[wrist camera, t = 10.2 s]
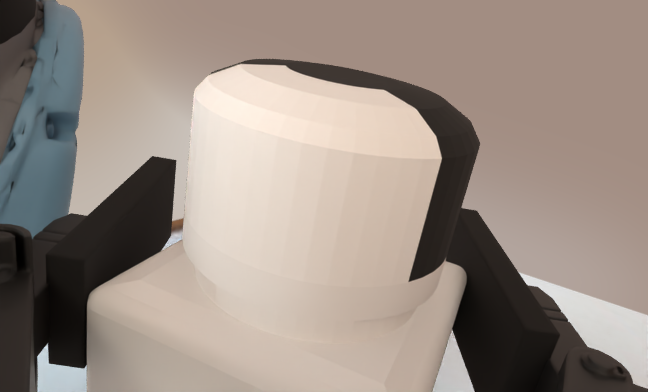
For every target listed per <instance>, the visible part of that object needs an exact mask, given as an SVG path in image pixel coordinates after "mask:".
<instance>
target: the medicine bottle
mask: <svg viewBox="0 0 648 392" xmlns="http://www.w3.org/2000/svg"><path fill="white" fill-rule="evenodd" d="M193 98H194V99H193V111H192V123H191V135H190V147H189V148H190V149H189V160H188V173H187V185H186V197H185V210H184V222H183V234H182V240H180V241H178V242H177V243H175V244H173V245H171V246H170V247H168V248H166V249H164V250H162V251H161V252H159V253H157V254H155V255H154V256H152V257H150V258H148V259H146V260H145V261H143V262H141V263H139V264H138V265H136V266H134V267H132V268H130V269H129V270H127V271H125V272H123V273H122V274H120V275H118V276H116V277H114V278H113V279H111V280H109V281H107V282H106V283H104V284H102V285H100V286H99V287H97V288H95V289H94V290H93V291H92V292H91V293H90V294H89V297H88V301H87V392H432V391H433V387H434V384H435V381H436V378H437V375H438V372H439V368H440V365H441V362H442V359H443V356H444V353H445V349H446V346H447V343H448V340H449V337H450V334H451V330H452V327H453V324H454V321H455V318H456V315H457V311H458V308H459V305H460V302H461V299H462V296H463V292H464V289H465V286H466V283H467V275H466V272H465V271H464V269H463V268H462V267H460V266H458V265H456V264H453V263H450V262H447V261H445V260H446V257H447V254H448V250H449V247H450V244H451V240H452V237H453V233H454V230H455V227H456V223H457V220H458V217H459V213H460V210H461V206H462V203H463V200H464V196H465V193H466V190H467V187H468V183H469V180H470V176H471V173H472V170H473V166H474V163H475V160H476V156H477V153H478V150H479V146H480V142H479V139H478V137H477V135H476V132H475V130H474V128H473V126H472V123H471V121H470V120H469V119H468V118H467V117H465V116H464V115H463V114H462V113H461V112H459V111H458V110H457V109H456V108H454V107H453V106H452V105H451V104H450V103H448V102H447V101H446V100H445V99H444V98H442V97H441V96H439V95H437V94H435V93H433V92H431V91H429V90H426V89H424V88H421V87H418V86H415V85H412V84H409V83H406V82H403V81H399V80H396V79H392V78H388V77H384V76H380V75H376V74H372V73H368V72H363V71H359V70H354V69H349V68H344V67H338V66H332V65H325V64H318V63H310V62H302V61H292V60H280V59H254V60H247V61H244V62H241V63H238V64H235V65H232V66H229V67H226V68H223V69H220V70H217V71H214V72H212V73H211V74H209V75H208V76H207V77H206V78H205V79H204V80H203V81H202V82H201V83H200V84H199V85H198V87H196V89H195V91H194V97H193Z"/></svg>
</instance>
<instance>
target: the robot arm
mask: <svg viewBox="0 0 648 392" xmlns="http://www.w3.org/2000/svg"><path fill="white" fill-rule="evenodd" d="M83 67H84V40H83V31H82V25H81V21H80V18H79V16H78V15H77V14H76V13H75V11H74V10H72V9H71V8H69V7H67V6H64V5H60V4H58V2H57V1H56V0H0V392H37V381H38V366H37V356H38V355H39V353H40V352H41V351H42V350H43V348H44V347H45V346H46V345H47V343H48V352H49V364H56V365H63V366H70V367H77V368H85V366H86V365H87V301H88V297H89V294H90V293H91V292H92V291H93V290H94V289H95V288H97V287H99V286H100V285H102V284H104V283H106V282H107V281H109V280H111V279H113V278H114V277H116V276H118V275H120V274H122V273H123V272H125V271H127V270H129V269H130V268H132V267H134V266H136V265H138V264H139V263H141V262H143V261H145V260H146V259H148V258H150V257H152V256H154V255H155V254H157V253H159V252H161V250H162V249H163V247H164V246H165V244H166V243H167V241H168V239H169V238H170V236H171V227H172V212H173V198H174V184H175V170H176V160H172V159H166V158H160V157H154V156H152V157H151V158H150V159H149V160H148V161H147V162H146V163H145V164H143V165H142V166H141V167H140V168H139V169H138V170H137V171H136V172H135V173H134V174H133V175H131V176H130V177H129V178H128V179H127V180H126V181H125V182H124V183H123V184H122V185H121V186H119V187H118V188H117V189H116V190H115V191H114V192H113V193H112V194H111V195H110V196H109V197H107V198H106V199H105V200H104V201H103V202H102V203H101V204H100V205H99V206H98V207H97V208H96V209H94V210H93V211H92V212H91V213H90V214H89V215H88V216H84V215H78V214H69V215H68V212H69V206H70V199H71V193H72V186H73V179H74V171H75V162H76V152H77V140H76V135H75V131H76V129H77V128H78V122H79V110H80V104H81V100H82V88H83ZM445 261H447V262H450V263H453V264H456V265H458V266H460V267H462V268H463V269H464V271H465V272H466V275H467V283H466V286H465V289H464V292H463V296H462V299H461V302H460V305H459V308H458V311H457V315H456V318H455V321H454V324H453V327H452V330H453V333H454V335H455V338H456V341H457V344H458V346H459V349H460V352H461V355H462V357H463V360H464V363H465V366H466V368H467V371H468V374H469V377H470V380H471V382H472V385H473V388H474V391H475V392H648V389H646V388H643V387H640V386H638V385H635V384H633V380H632V378H631V375H630V373H629V372H628V370H627V369H626V368H625V367H624V366H623V365H622V364H621V363H619V362H618V361H617V360H615V359H614V358H612V357H611V356H609V355H607V354H605V353H603V352H601V351H599V350H595V349H592V348H589V347H587V345H586V344H585V343H584V341H583V340H582V338H581V337H580V336H579V334H578V333H577V332H576V330H575V329H574V327H573V326H572V325H571V323H570V322H568V319H567V318H566V316H565V315H564V314H563V313H562V312H561V310H560V308H559V307H558V306H557V304H556V303H555V301H554V300H553V299H552V298H551V297H550V296H549V295H547V294H546V293H545V292H543V291H542V290H541V289H540V288H538V287H534V286H528V285H526V283H525V282H524V280H523V279H522V277H521V276H520V274H519V273H518V271H517V270H516V268H515V267H514V265H513V264H512V262H511V261H510V259H509V258H508V256H507V255H506V253H505V252H504V250H503V249H502V247H501V246H500V245H499V243H498V242H497V240H496V239H495V237H494V236H493V234H492V233H491V231H490V230H489V228H488V227H487V225H486V224H485V222H484V221H483V219H482V218H481V216H480V215H479V213H478V212H477V211H474V210H469V209H463V208H461V210H460V213H459V217H458V220H457V223H456V227H455V230H454V233H453V237H452V240H451V244H450V247H449V250H448V254H447V257H446V260H445Z"/></svg>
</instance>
